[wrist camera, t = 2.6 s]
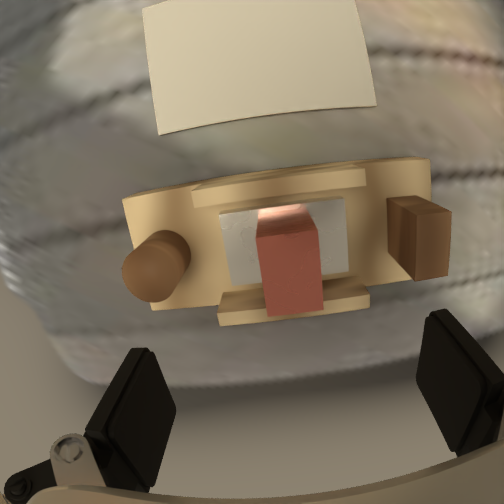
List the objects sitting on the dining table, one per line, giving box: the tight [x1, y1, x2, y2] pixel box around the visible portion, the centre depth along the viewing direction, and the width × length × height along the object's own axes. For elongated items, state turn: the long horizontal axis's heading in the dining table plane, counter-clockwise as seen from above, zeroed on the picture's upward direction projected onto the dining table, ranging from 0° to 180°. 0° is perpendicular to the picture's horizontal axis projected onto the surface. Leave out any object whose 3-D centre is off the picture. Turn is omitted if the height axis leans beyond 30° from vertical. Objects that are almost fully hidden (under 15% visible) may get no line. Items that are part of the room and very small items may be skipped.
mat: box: [142, 0, 377, 135], centre depth 19 cm, size 16×11×1 cm
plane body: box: [122, 157, 452, 326], centre depth 20 cm, size 22×9×8 cm, turn 99°
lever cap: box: [219, 195, 349, 317], centre depth 19 cm, size 8×5×6 cm, turn 99°
